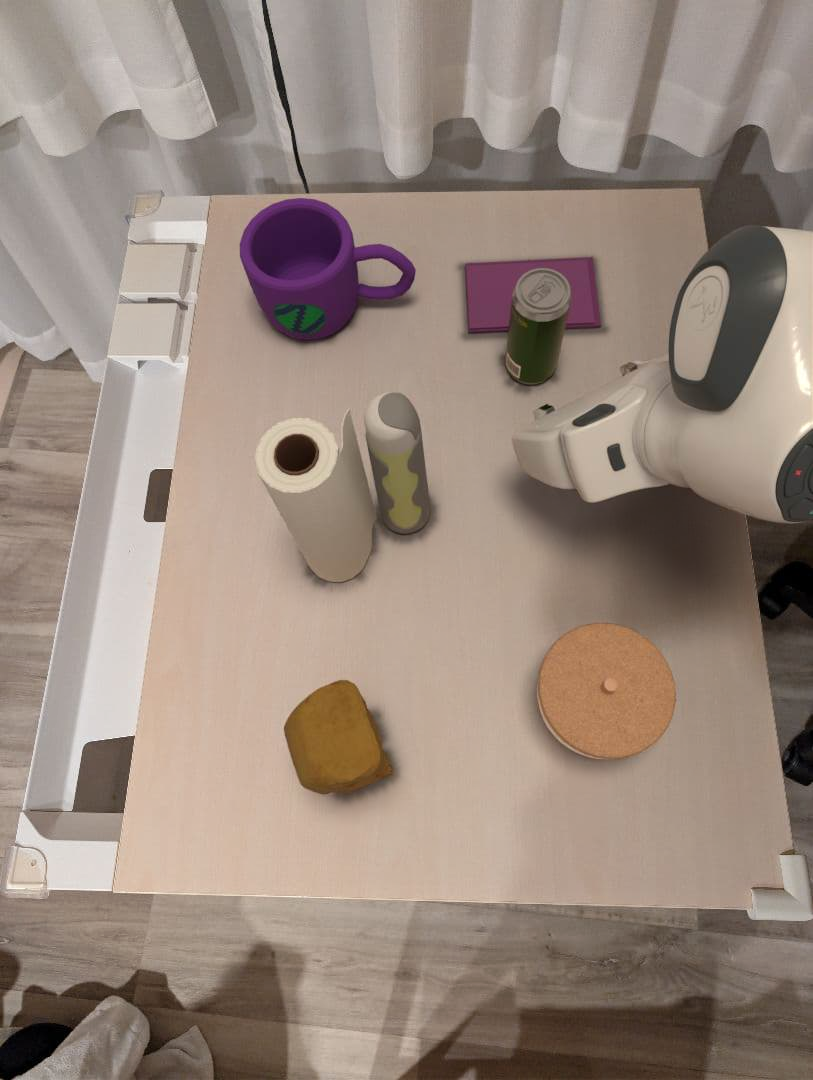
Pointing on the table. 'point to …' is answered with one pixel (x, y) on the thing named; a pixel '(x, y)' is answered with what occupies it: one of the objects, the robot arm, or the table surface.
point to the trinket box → (606, 691)
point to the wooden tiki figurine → (335, 741)
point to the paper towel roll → (320, 493)
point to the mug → (311, 267)
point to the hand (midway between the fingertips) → (584, 392)
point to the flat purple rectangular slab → (498, 279)
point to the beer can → (537, 325)
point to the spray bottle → (397, 461)
